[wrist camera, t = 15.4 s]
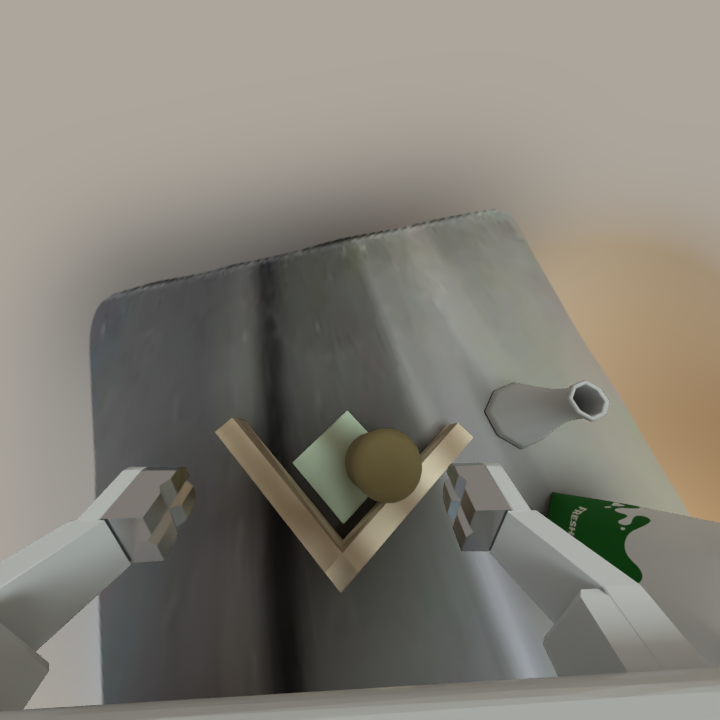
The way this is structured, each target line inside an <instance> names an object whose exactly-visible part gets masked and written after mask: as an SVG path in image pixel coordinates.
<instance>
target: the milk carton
mask: <svg viewBox="0 0 720 720" xmlns="http://www.w3.org/2000/svg"><path fill="white" fill-rule="evenodd" d="M547 518H548V519H549V520H550V521H552V522H553V523H555V524H556V525H557V526H559V527H560V528H562V529H563V530H564V531H566V532H567V533H568V534H570V535H571V536H573V537H574V538H575V539H577V540H578V541H580V542H581V543H582V544H584V545H585V546H587V547H588V548H589V549H591V550H592V551H594V552H595V553H596V554H598V555H599V556H601V557H602V558H603V559H605V560H606V561H608V562H609V563H610V564H612V565H613V566H615V567H616V568H617V569H619V570H620V571H622V572H623V573H624V574H626V575H627V576H629V577H630V578H631V579H633V580H634V581H636V582H637V583H638V584H640V585H641V586H642V587H643V588H644V590H645V591H646V592H647V593H648V594H649V596H650V597H651V598H652V599H653V600H654V602H655V603H656V604H657V605H658V606H659V608H660V609H661V610H662V611H663V612H664V614H665V615H666V616H667V617H668V618H669V620H670V621H671V622H672V623H673V624H674V626H675V627H676V628H677V629H678V630H679V632H680V633H681V634H682V635H683V636H684V638H685V639H686V640H687V641H688V642H689V644H690V645H691V646H692V647H693V648H694V650H695V651H696V652H697V653H698V654H699V656H700V657H701V658H702V659H703V660H704V662H705V663H706V664H707V665H708V666H709V667H720V523H718V522H713V521H708V520H703V519H698V518H693V517H688V516H683V515H678V514H673V513H668V512H663V511H658V510H653V509H648V508H643V507H638V506H633V505H627V504H622V503H616V502H610V501H604V500H598V499H591V498H585V497H578V496H572V495H565V494H559V493H552V498H551V503H550V507H549V512H548V517H547Z"/></svg>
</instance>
